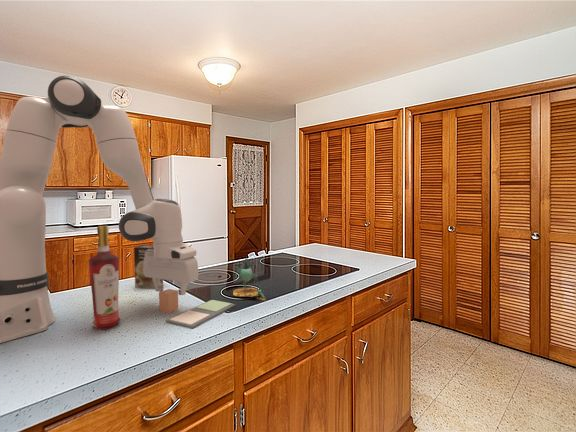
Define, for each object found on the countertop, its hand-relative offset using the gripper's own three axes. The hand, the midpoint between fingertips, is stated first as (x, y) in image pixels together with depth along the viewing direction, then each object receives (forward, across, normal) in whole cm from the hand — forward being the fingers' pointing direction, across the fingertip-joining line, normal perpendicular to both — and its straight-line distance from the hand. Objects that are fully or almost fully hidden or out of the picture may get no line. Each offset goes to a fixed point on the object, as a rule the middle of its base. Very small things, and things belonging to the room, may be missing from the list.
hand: (170, 292), depth 105 cm
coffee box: (+6, -27, +15) cm, 31 cm away
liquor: (+5, -6, -18) cm, 20 cm away
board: (+5, +12, +1) cm, 13 cm away
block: (+5, 0, -1) cm, 5 cm away
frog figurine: (+6, +15, +22) cm, 27 cm away
